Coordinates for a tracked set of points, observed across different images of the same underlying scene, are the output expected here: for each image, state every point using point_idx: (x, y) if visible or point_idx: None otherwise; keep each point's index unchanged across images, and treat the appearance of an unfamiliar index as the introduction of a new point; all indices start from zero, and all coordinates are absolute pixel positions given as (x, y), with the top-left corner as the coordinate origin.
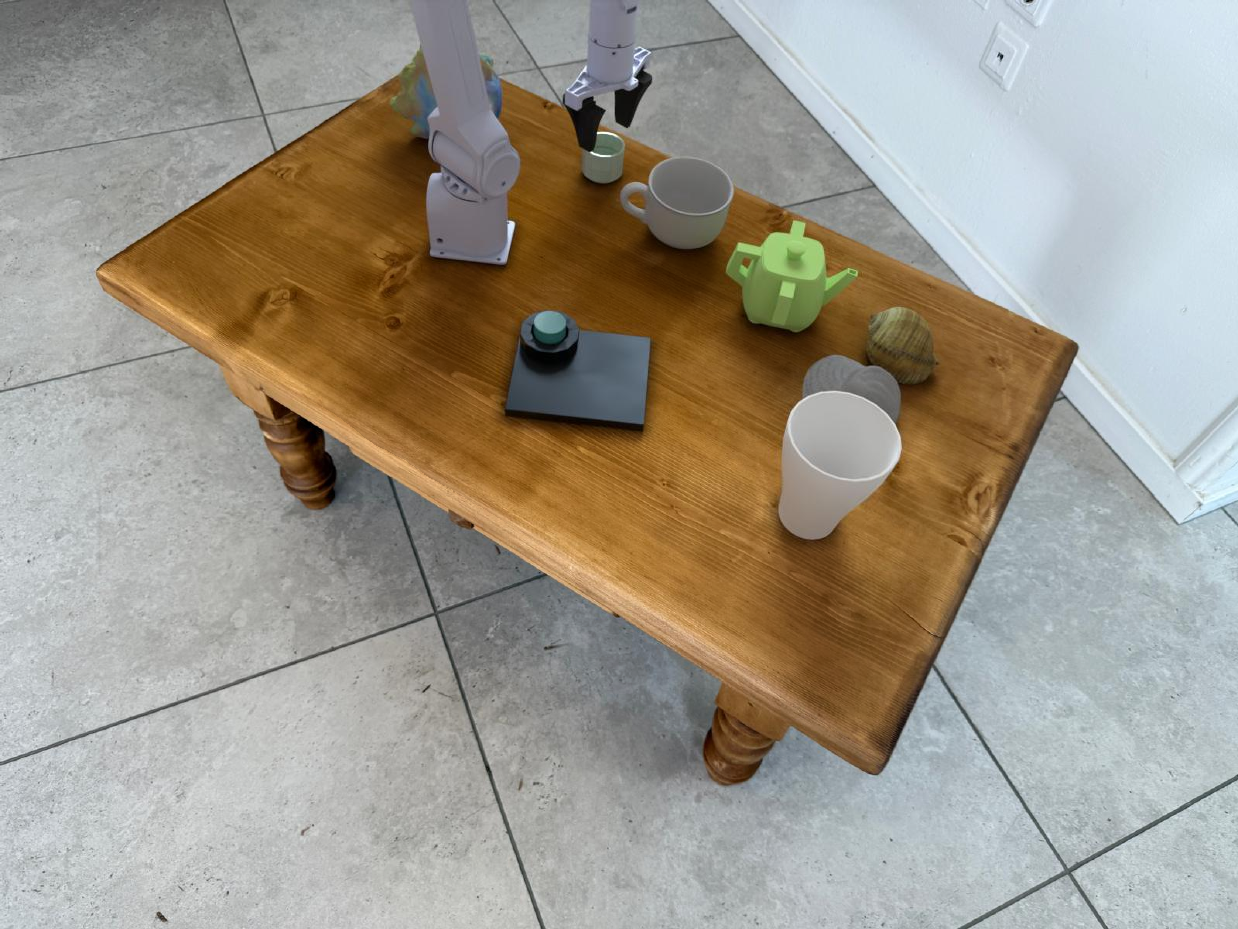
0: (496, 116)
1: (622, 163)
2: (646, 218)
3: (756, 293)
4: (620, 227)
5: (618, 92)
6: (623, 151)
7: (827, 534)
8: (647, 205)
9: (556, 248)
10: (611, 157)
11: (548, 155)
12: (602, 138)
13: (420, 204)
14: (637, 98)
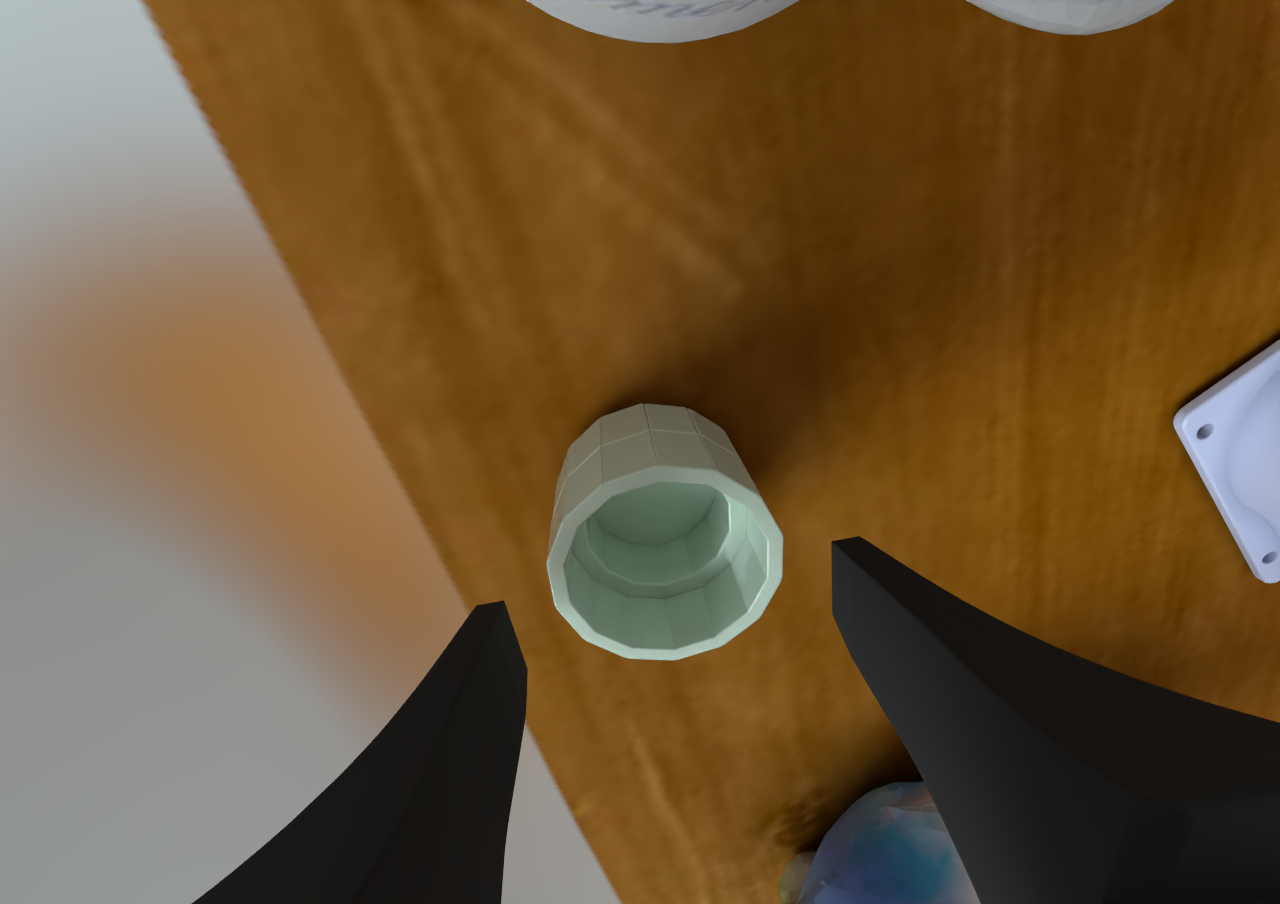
0: (911, 873)
1: (609, 441)
2: None
3: None
4: (882, 104)
5: (489, 880)
6: (612, 476)
7: None
8: None
9: (1208, 184)
10: (714, 468)
11: (741, 652)
12: (608, 616)
13: (1226, 649)
14: (404, 788)
